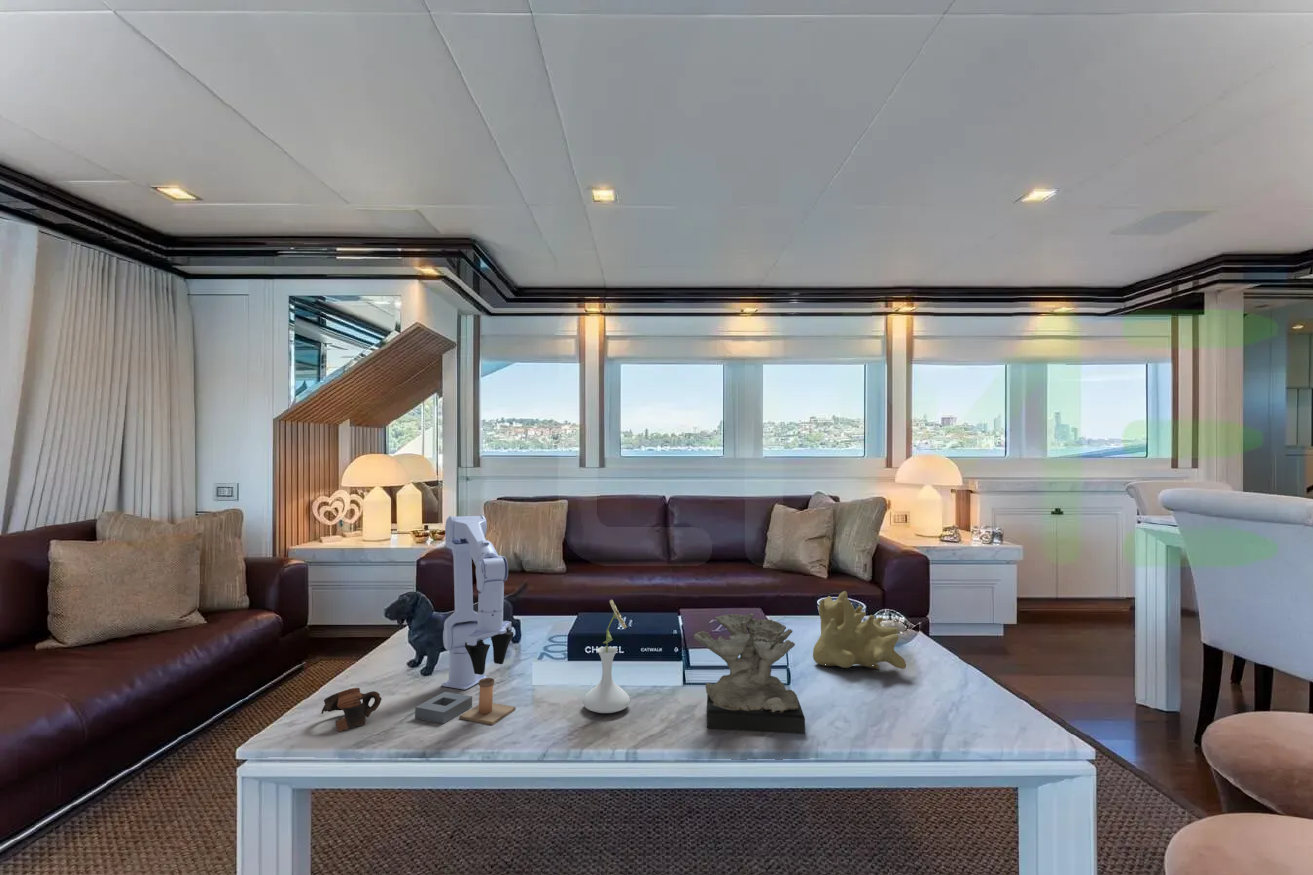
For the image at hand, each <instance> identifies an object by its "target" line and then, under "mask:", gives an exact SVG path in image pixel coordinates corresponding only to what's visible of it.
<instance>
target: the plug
mask: <svg viewBox="0 0 1313 875" xmlns="http://www.w3.org/2000/svg"><path fill="white" fill-rule="evenodd" d="M478 685H479V693H478V694H479V695H478V696H479V698H478V705H479V713H481V714H488V713H490V712H492V703H493V698H494V696H493V695H494V685H495V679H494V678H493V677H492V678H491V677H487V678H483V679H481V680H479V683H478Z"/></svg>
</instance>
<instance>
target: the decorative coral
mask: <svg viewBox="0 0 1313 875" xmlns="http://www.w3.org/2000/svg"><path fill="white" fill-rule="evenodd" d="M848 597H849V596H848V593H847V591H846V590H844V591H842V592H840V593H839V595H838V596H837V599H836V600H833V599H832V596H830V595H828V596H827V597H826V598H823V599H821V600H820V601H819V605H818V615H819V618H820V635H819V638H818V639H817V641H816V643H815V644H814V647H813V651H812V658H813V661H814V662H815V663H816V664H817V665H821V666H823V667H835V666H837V667H840V668H843V669H848V668H850V667H853V666H854V665H859V666H863V667H864V668H871V669H874V670H878V669H879V668H880V666H879V664H878V663H882V662H884V663H888V664H890V665H892V666H893V667H894V668H897V669H901V670H902V669H903V670H905V669H906V668H907V662H906V661H905V658H904V657H902V656H901V655H900V654H898V653H897V652H896V650H895V647H896V644H897V642H898V641H899V638H900V637H899V636H898V633H899V631H900V630H899V628H898V627H885V626H882V625H881V623H882V622H883V621H884V617H882V616H881V617H880V616H879V617H877V618H875V615H873V614H870V615H869V617H868V618H867V620H863V619H864V617H866V616H867V612H866V611H863V606H862V605H859V606H857V608H856V609H855V607H854V604H852V603H851V601H850V600H849V598H848ZM825 664H826V665H825ZM872 665H874V666H872Z"/></svg>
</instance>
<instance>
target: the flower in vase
mask: <svg viewBox="0 0 1313 875" xmlns="http://www.w3.org/2000/svg"><path fill="white" fill-rule="evenodd" d="M609 604H610V606H611V609H612V610H613V616H612V618H610V619H611V620H610V621H609V623H608V626H607V628H606V635H605V636H606V638H605V639H606V640H605V641H603V642H602V644H605V646H602V647H601V646H600V647H598V648H596V651H597V653H598V654H599V657H600V662H601V668H602V669H601V670H602V672H601V679H600V681H599V682H598V684H597V685H596V686H594V687H593V688H592V689H591V690H589V691H588V692H587V693H586V694H585V695H584V696H583V699H582V704H583V706H584V707H585V708H586V710H588V711H591V712H594V713H599V714H612V713H617V712H620V711H623V710H624V709H626V708H627V707H629V704H630V703H631V699H630V697H629V694H628V693H627V692H626V691H625V690H623V689H622V688H621V687H620V686H618V684H616V683H615V681H614V680H613V674H612V670H613V669H612V668H613V661H614V657H615V655H616V653H617V652H618V648H617V647H614V646H609V644H608V643H611V641H613V640H614V639H613V638H612V635H611V632H610V631H609V630H610V627H611V624H612V622H613V620H614V619H617V620H618V623H619V624H620V625H621V627H622V628H623V630H625V629H626V628H628V626H627V625H626V623H625V621H624V619H623V618H622V615H621V614H620V612H619V610H618V608H617V606H616V604H615V602H614V600H613V599H611V600H609Z"/></svg>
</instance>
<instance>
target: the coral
mask: <svg viewBox="0 0 1313 875" xmlns="http://www.w3.org/2000/svg"><path fill="white" fill-rule="evenodd" d="M714 620H716V621H717V622H718V623H720V625H721V626H722V627H724V628H725V629H726V630H727V631H728V632H729V634H730V635H729V637H728V638H729V639H725V638H723V637H722V635H720V636H718V638H717V639H713V638H712V635H711V634H709V632H708V631H707V632H706V631H699V632H696V633H695V634H694V635H693V637H694V639H695V640H696V641H697V642H698V643H699V644H701V645H703V646H704V647H706V648H707V649H709V651H711V652H712V653H714V654H715V655H717V656H718V657H720V658H721V659H722V660H723V661H724V662H725V663H726V666H727V667H728V668H729V674H726V675H725V674H724V675H722V676H721V677H719V680H718V681H717V682H716V683H710V682H705V690H706V728H707V729H719V730H733V731H734V730H735V731H736V730H737V731H748V732H749V731H750V732H751V731H752V732H754V731H755V732H769V733H783V734H784V733H785V734H802V735H803V734H806V719H805V715H804V711H803V709H802V706H801V703H800V701H799V698H798V696H797V693H796V692H795V691H794V690H792V689H786V686H785V684H784V682H782V681H781V680H780V679H779V678H778V677H777V676H773V675H771V674H772V668H771V667H772V665H773V664H775V663H776V662H778V661H779V660H780V659H781V658H784V656H786V654H787V653H788V652H790V650H792V648H794V647H795V646H796V644H795V642H794V641H791V640H789V639H788V638H789V637H790V635H791V634H793V629H791V628H788V629H787V626H786V625H784V624H782V623H781V622H779V621H777V620H776V621H775V620H773V619H771V618H770V619H769V618H768V619H760V618H759V619H757V618H754V613H748V614H747V615H746V614H744V615H742V614H737V613H735V614H734V613H730V614H729V613H727V614H723V615H718V616H715V617H714ZM786 629H787V630H786ZM787 639H788V640H787Z"/></svg>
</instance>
